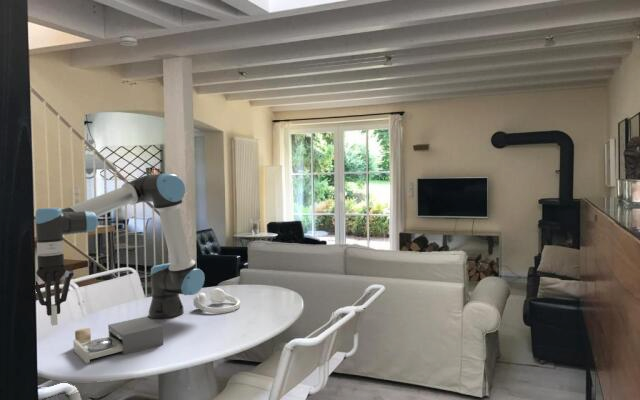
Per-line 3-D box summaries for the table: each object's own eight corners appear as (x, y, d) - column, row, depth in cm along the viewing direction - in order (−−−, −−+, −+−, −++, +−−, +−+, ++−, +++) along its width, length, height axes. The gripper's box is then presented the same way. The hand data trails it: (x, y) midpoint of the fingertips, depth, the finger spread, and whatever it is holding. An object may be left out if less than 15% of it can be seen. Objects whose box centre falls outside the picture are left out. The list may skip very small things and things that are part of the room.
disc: (109, 341, 166) (109, 336, 166) (115, 347, 160) (114, 342, 160) (85, 347, 161) (85, 341, 161) (90, 353, 155) (89, 347, 155)
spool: (74, 346, 168) (73, 330, 168) (89, 342, 171) (88, 327, 171) (77, 349, 164) (76, 333, 164) (92, 346, 167) (91, 330, 167)
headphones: (188, 310, 211) (219, 320, 201) (188, 293, 210) (220, 303, 200) (218, 300, 228) (248, 309, 217) (219, 284, 227) (249, 292, 216)
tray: (114, 340, 171) (113, 330, 171) (129, 352, 159) (128, 341, 159) (73, 350, 162) (73, 340, 162) (86, 363, 150) (85, 352, 149)
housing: (146, 333, 179) (145, 316, 179) (163, 344, 167) (162, 325, 166) (108, 343, 170) (107, 324, 170) (123, 355, 157) (122, 335, 157)
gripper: (29, 257, 143) (33, 331, 144) (75, 252, 151) (78, 322, 152) (25, 255, 148) (29, 326, 149) (69, 250, 157) (73, 317, 158)
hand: (54, 324), depth 151 cm, fingers closed
